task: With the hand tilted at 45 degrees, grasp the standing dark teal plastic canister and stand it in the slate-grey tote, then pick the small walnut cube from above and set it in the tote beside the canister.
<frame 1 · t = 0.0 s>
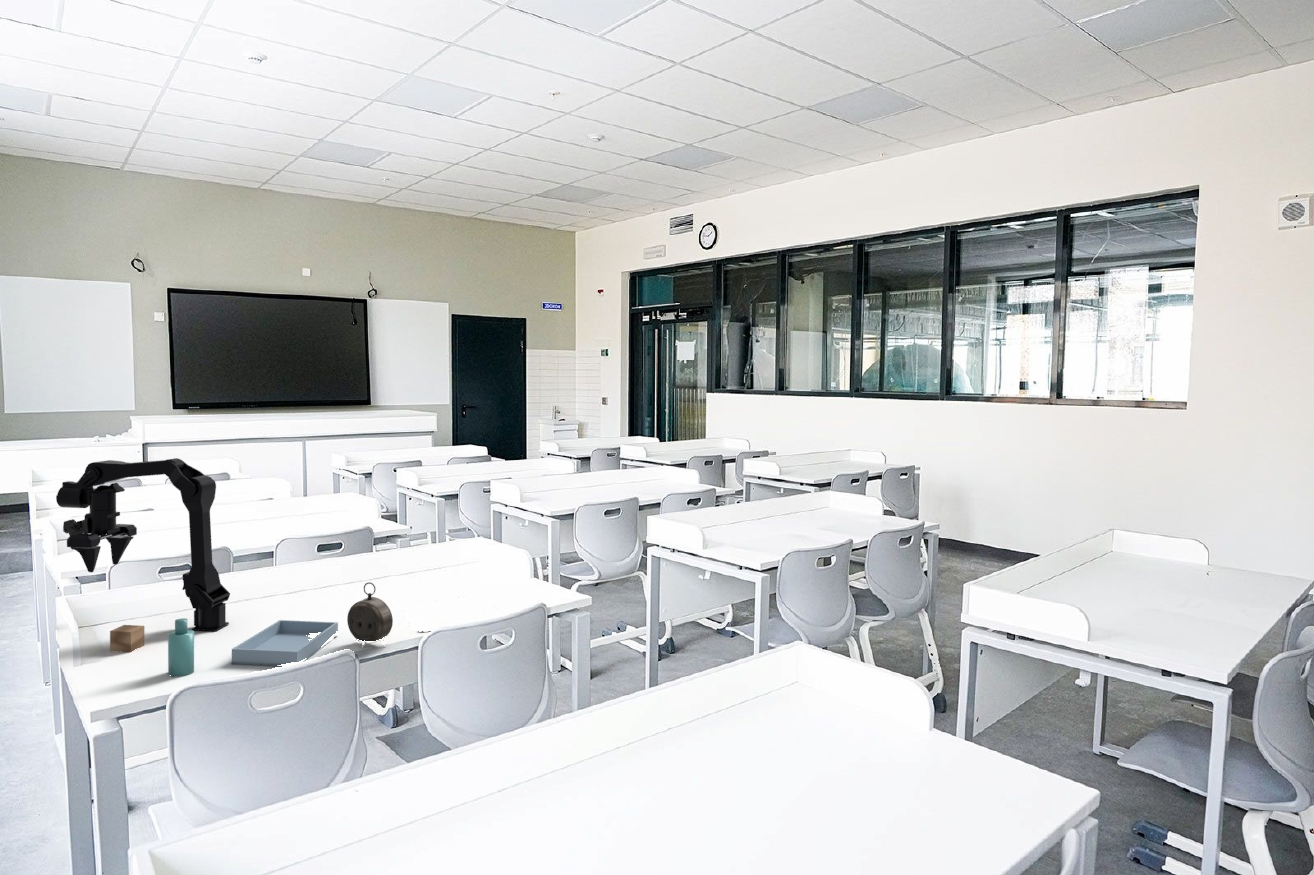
hand: (103, 568, 214), 15 cm above the table, tool pointing down, fingers open, 9 cm apart
tote: (287, 649, 200), on the table
alarm clock: (368, 646, 205), on the table
walnut cube: (127, 648, 197), on the table
teal canister: (181, 672, 182), on the table
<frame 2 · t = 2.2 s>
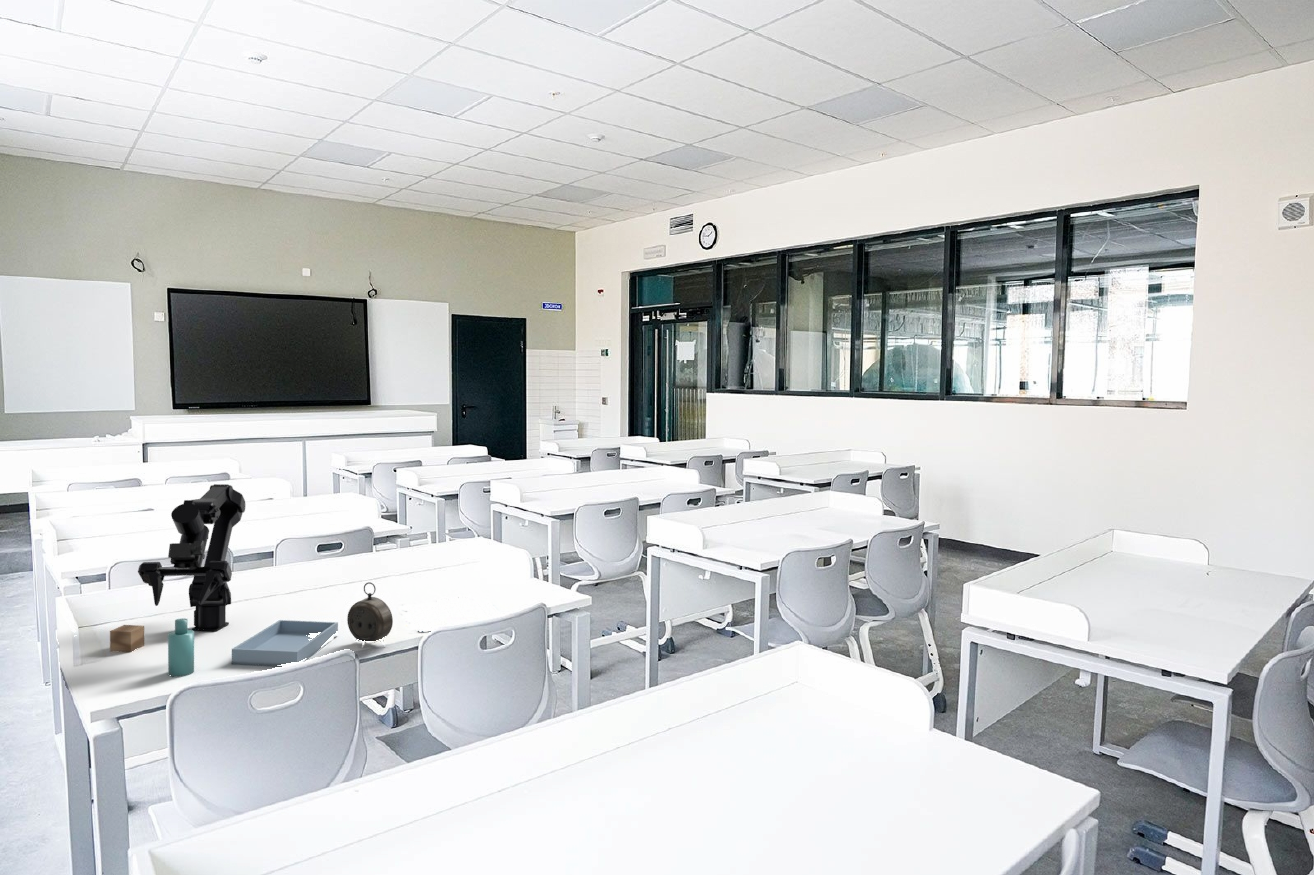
hand: (178, 604, 188), 13 cm above the table, tool tilted 45°, fingers open, 9 cm apart
nothing on the table moved.
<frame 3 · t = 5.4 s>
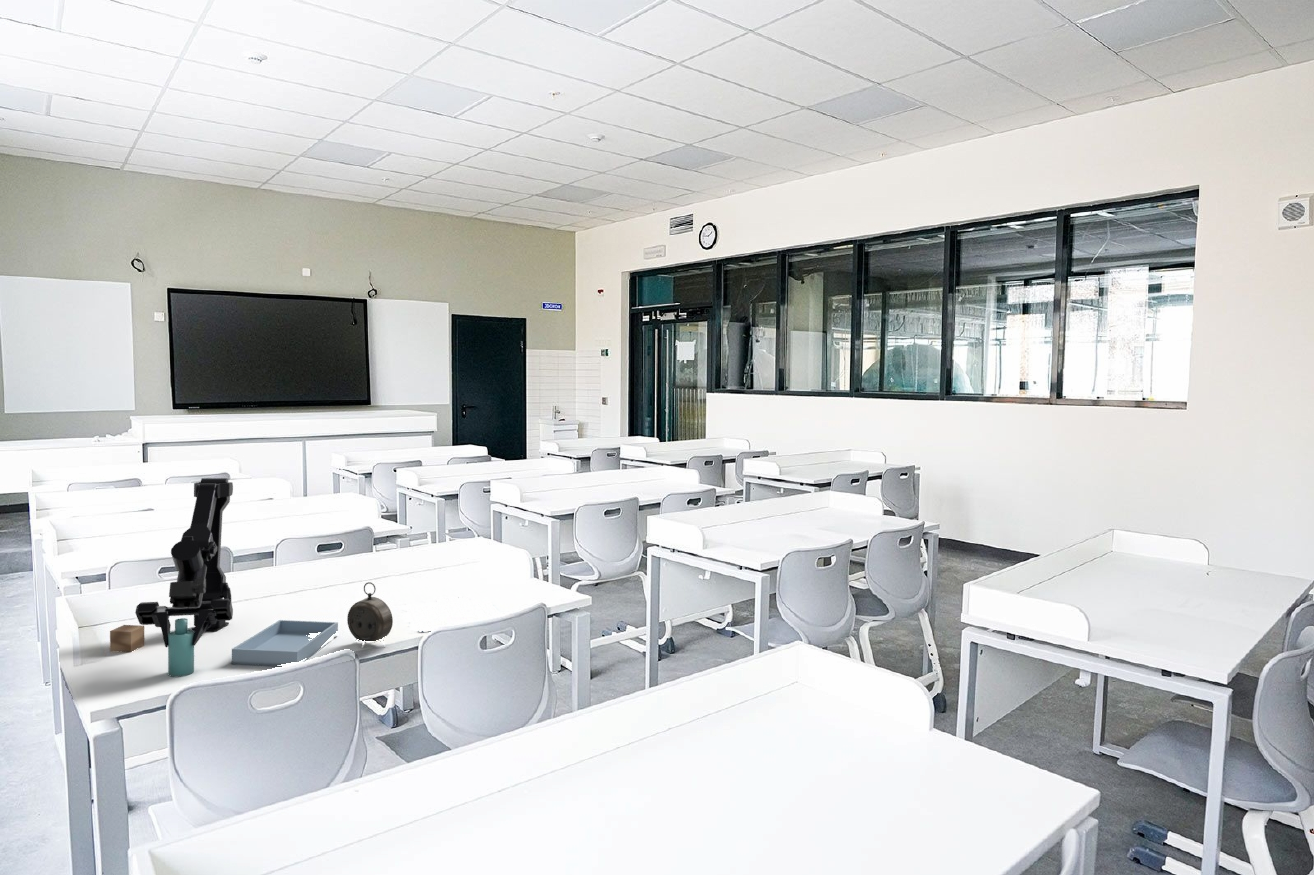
hand: (179, 645, 181), 7 cm above the table, tool tilted 45°, fingers closed on teal canister, 5 cm apart
teal canister: (181, 672, 182), on the table, touching gripper
everything else where it was.
when the fingers open (8 cm above the table, at t = 10.2 s): teal canister drops 1 cm, resting on tote.
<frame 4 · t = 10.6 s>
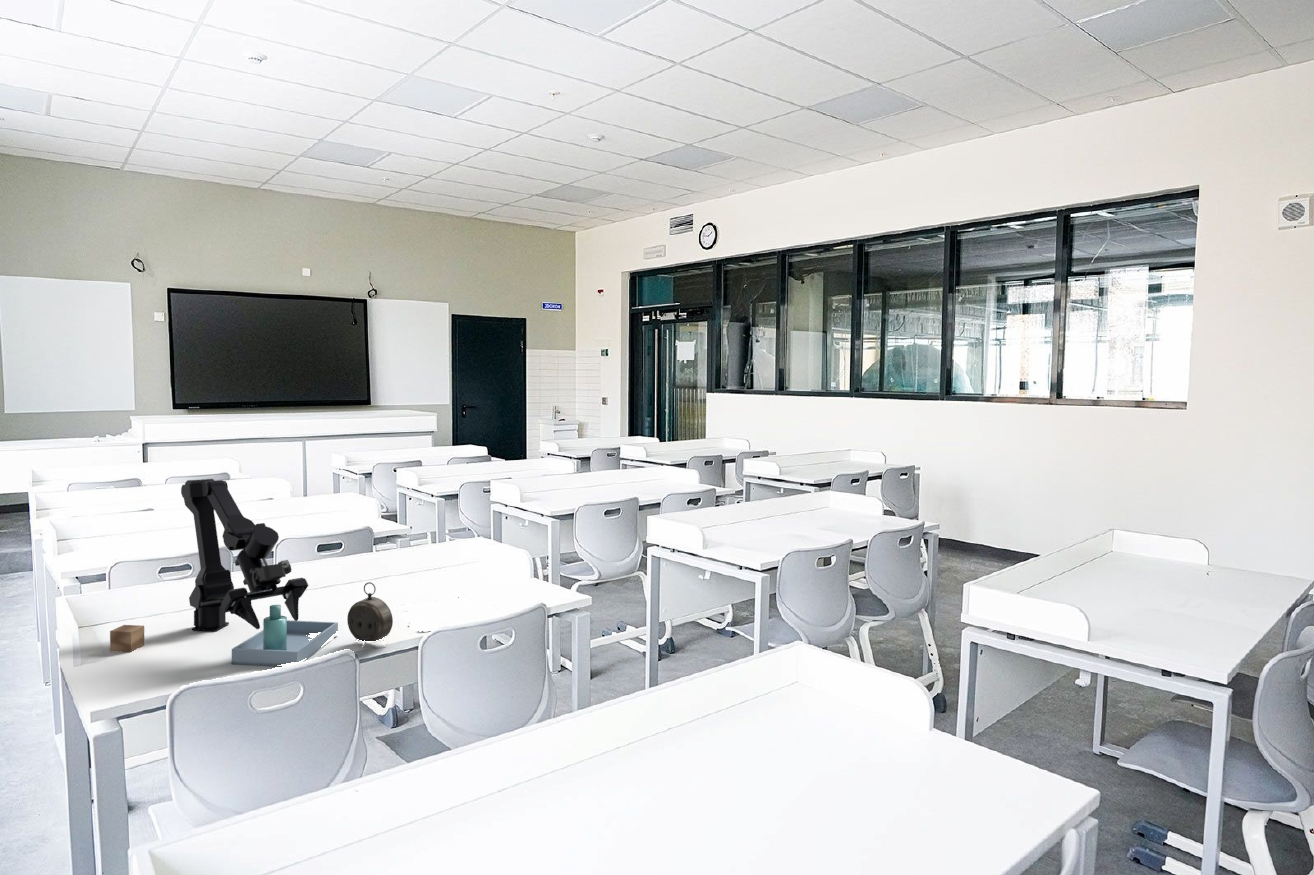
hand: (278, 624, 192), 9 cm above the table, tool tilted 45°, fingers open, 9 cm apart
teal canister: (274, 655, 194), point 1 cm above the table, touching tote
everything else where it was.
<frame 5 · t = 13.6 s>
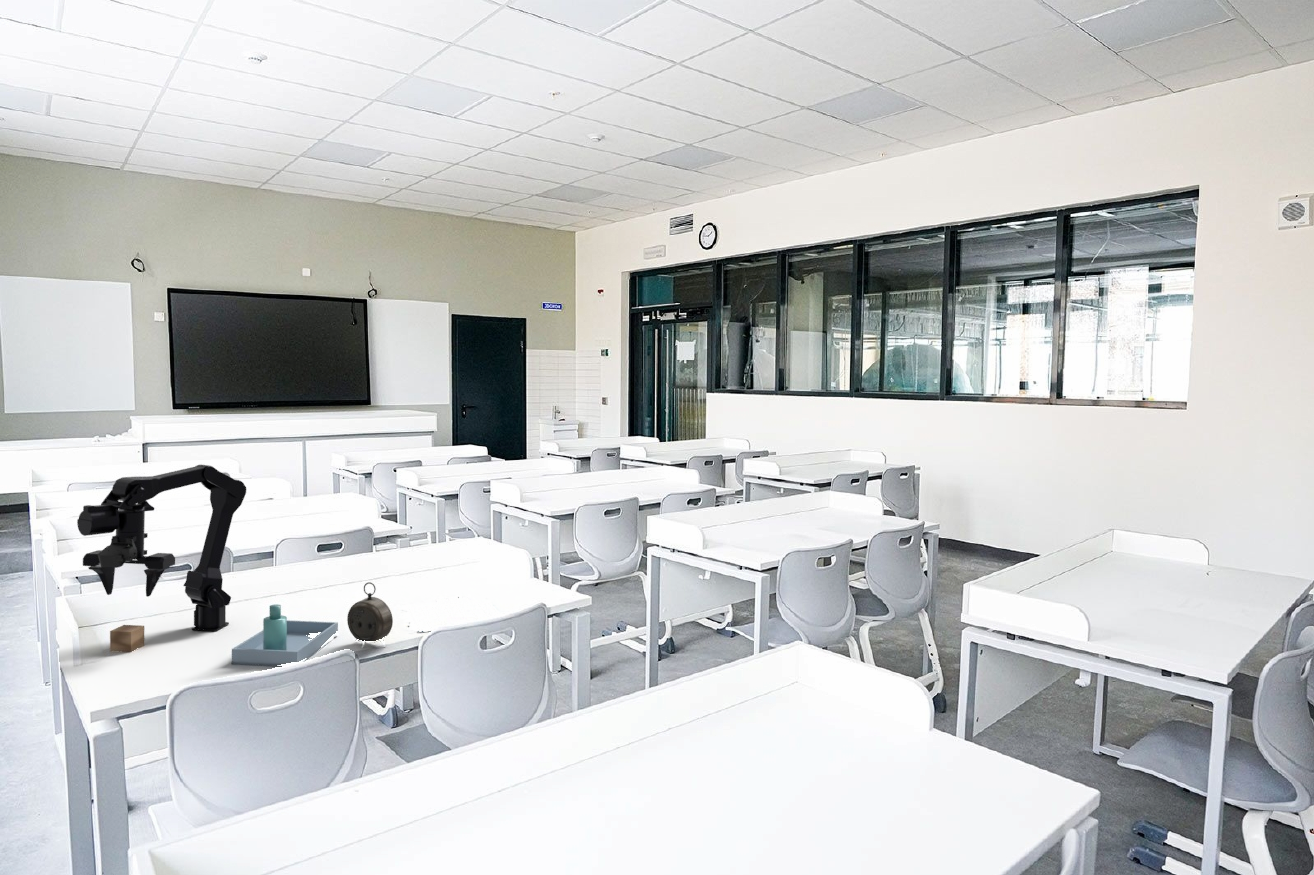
hand: (128, 595, 195), 13 cm above the table, tool pointing down, fingers open, 9 cm apart
nothing on the table moved.
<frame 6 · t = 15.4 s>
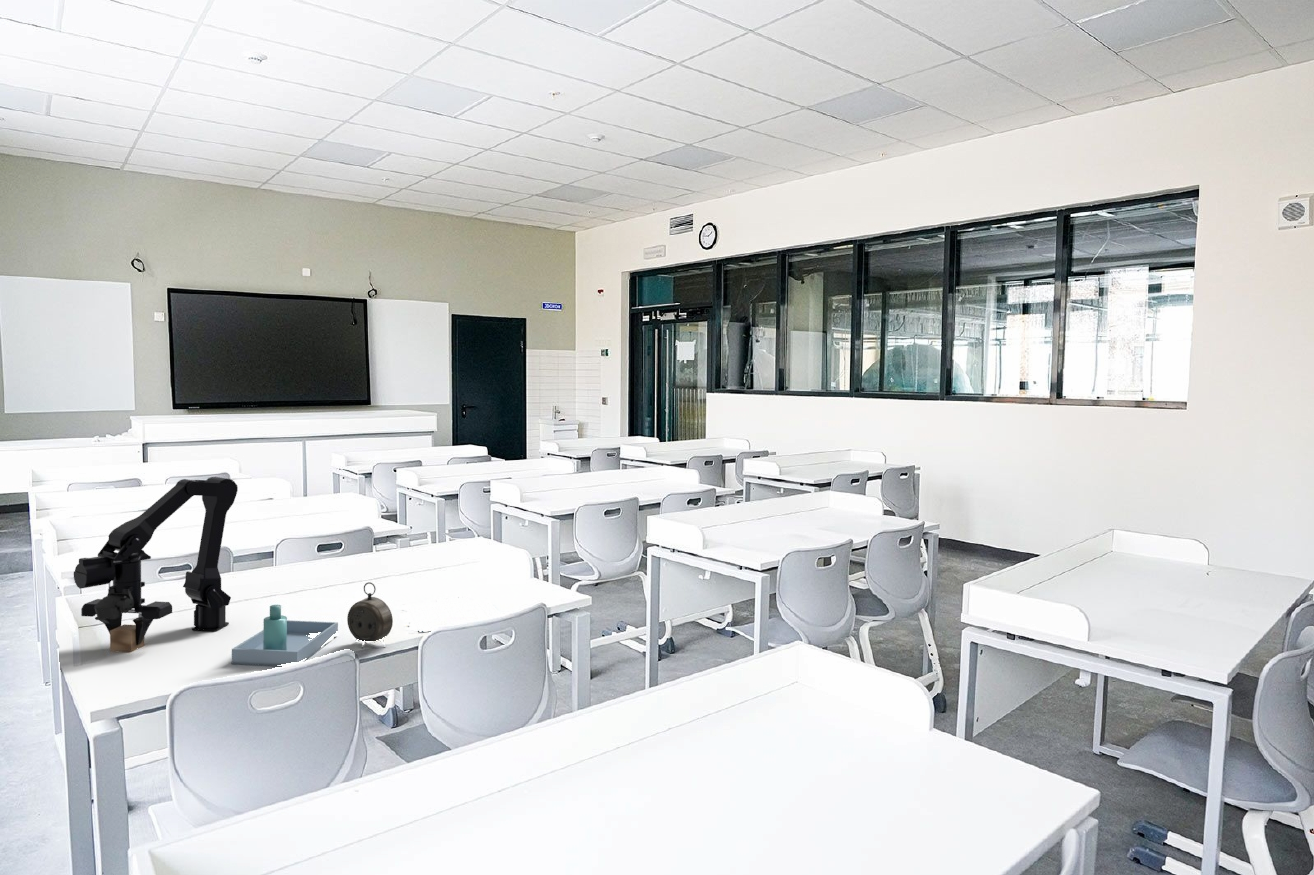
hand: (127, 644, 197), 1 cm above the table, tool pointing down, fingers closed on walnut cube, 5 cm apart
walnut cube: (127, 648, 197), on the table, touching gripper
everything else where it was.
when the fingers open (3 cm above the table, at t = 21.5 s): walnut cube drops 2 cm, resting on tote.
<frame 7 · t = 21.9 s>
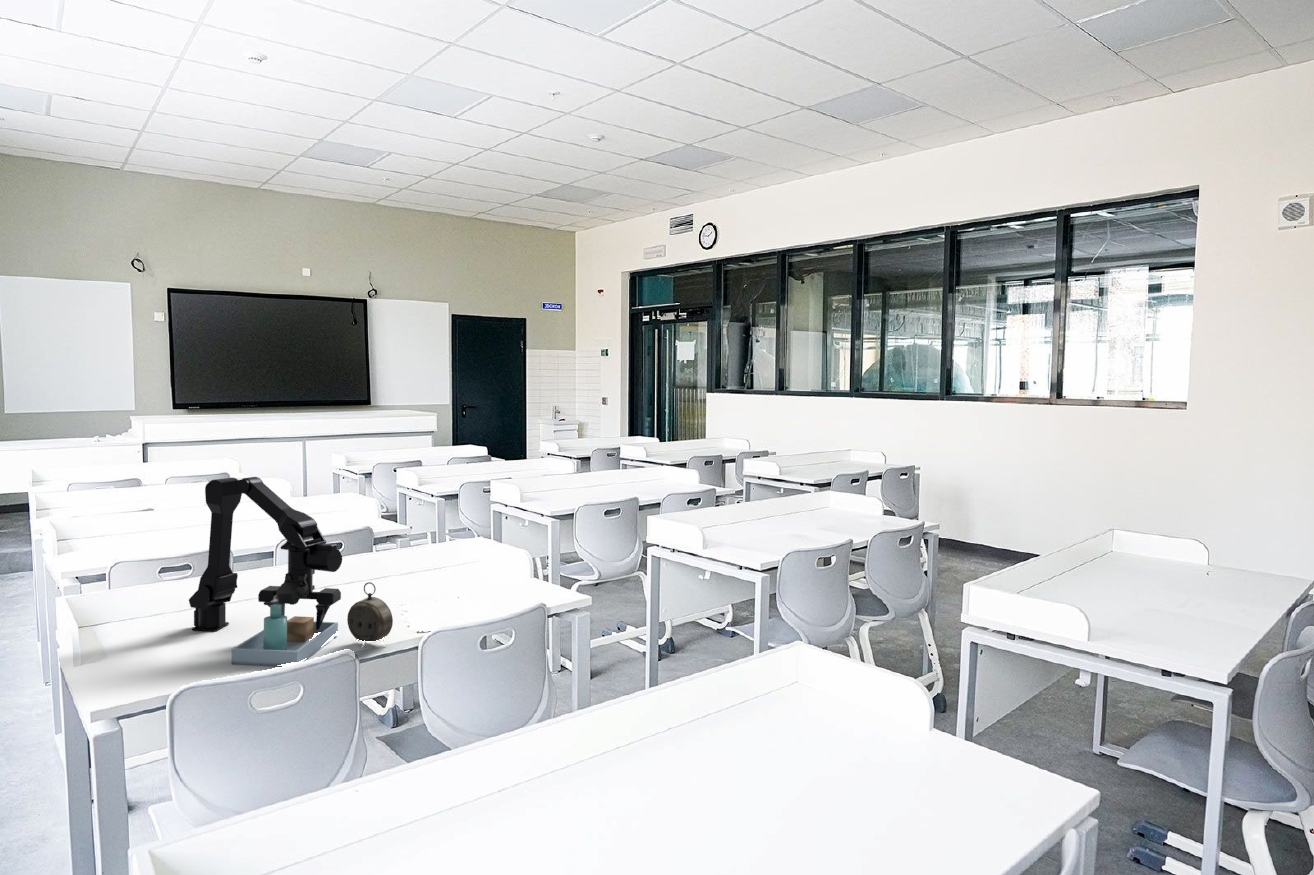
hand: (299, 628, 206), 3 cm above the table, tool pointing down, fingers open, 9 cm apart
walnut cube: (299, 639, 206), point 1 cm above the table, touching tote
everything else where it was.
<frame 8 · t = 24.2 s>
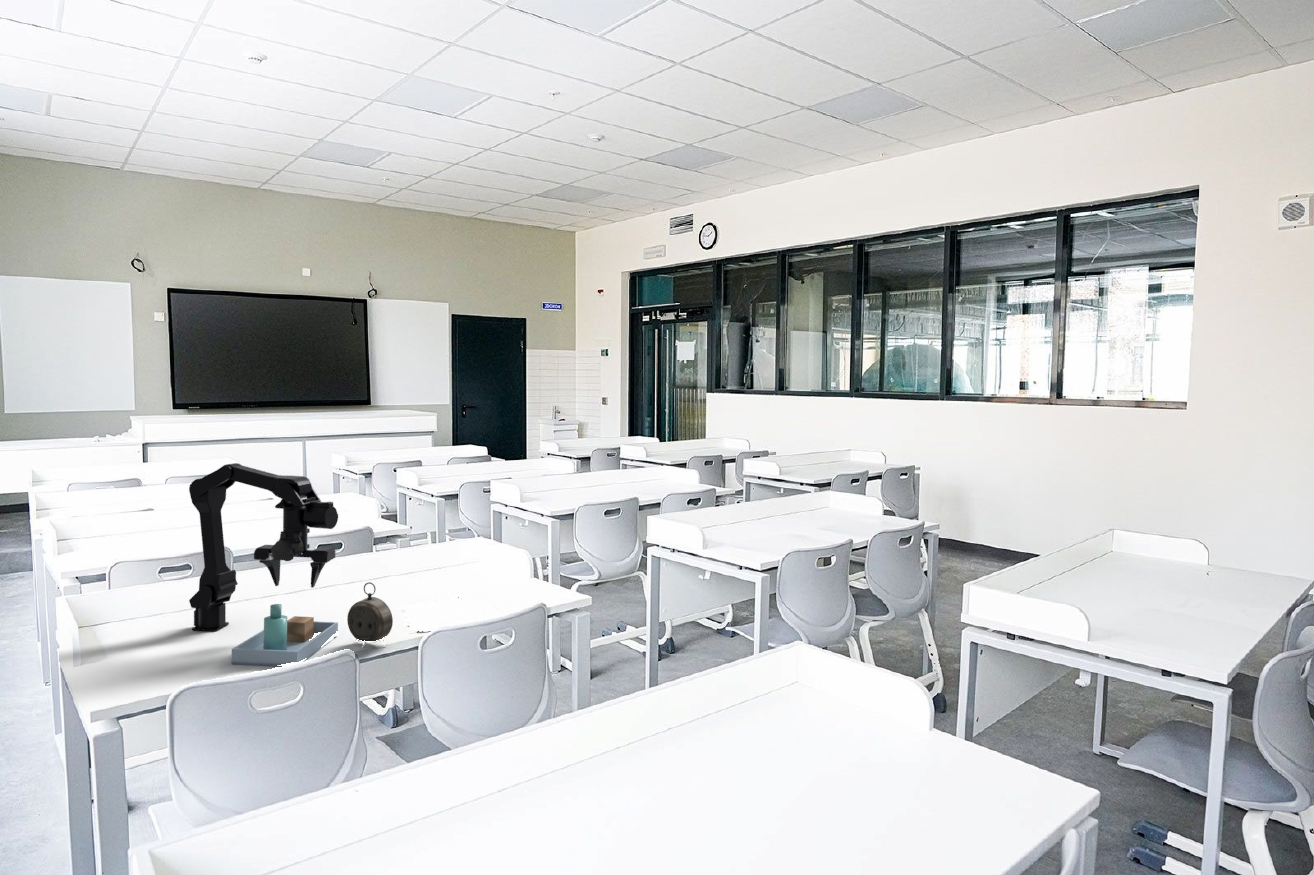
hand: (294, 586, 209), 13 cm above the table, tool pointing down, fingers open, 9 cm apart
nothing on the table moved.
at the end: teal canister inside the target area on the tote (6.5 cm from its centre), point 0.7 cm above the tote's base; walnut cube inside the target area on the tote (6.3 cm from its centre), point 0.6 cm above the tote's base; teal canister tilted 2° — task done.
